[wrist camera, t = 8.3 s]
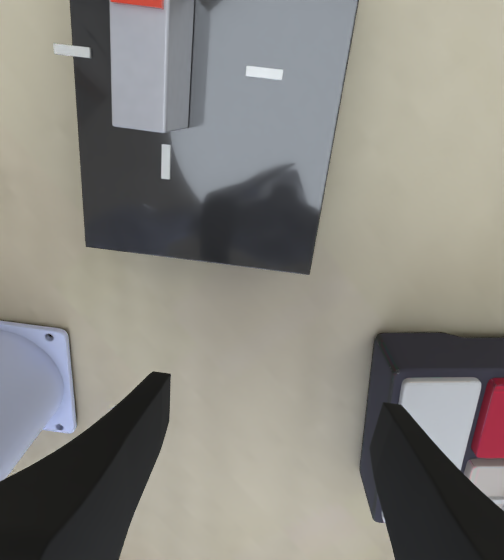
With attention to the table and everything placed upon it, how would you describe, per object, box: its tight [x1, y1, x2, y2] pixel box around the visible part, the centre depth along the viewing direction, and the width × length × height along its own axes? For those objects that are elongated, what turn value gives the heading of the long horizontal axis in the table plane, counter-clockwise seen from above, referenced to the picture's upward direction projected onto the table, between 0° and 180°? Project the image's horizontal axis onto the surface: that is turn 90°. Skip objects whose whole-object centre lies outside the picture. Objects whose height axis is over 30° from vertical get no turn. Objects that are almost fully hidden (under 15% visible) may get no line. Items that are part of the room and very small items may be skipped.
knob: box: [109, 0, 194, 133], centre depth 13 cm, size 5×2×4 cm, turn 173°
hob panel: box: [54, 0, 359, 275], centre depth 17 cm, size 11×12×3 cm
